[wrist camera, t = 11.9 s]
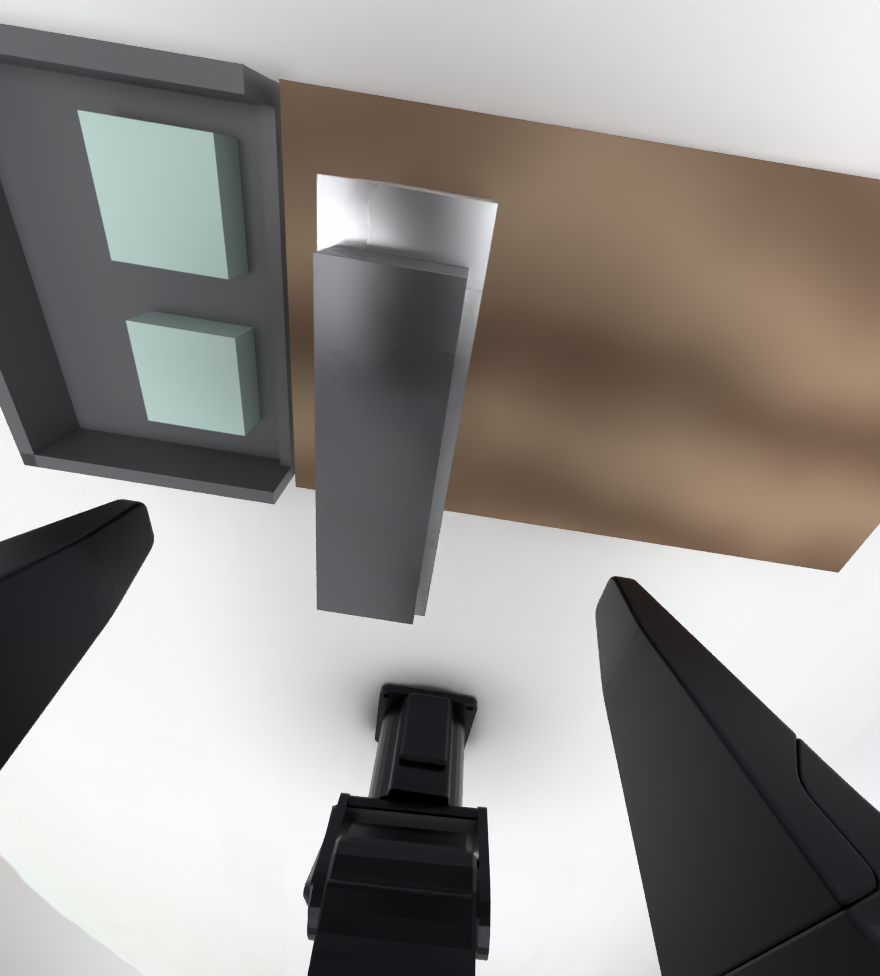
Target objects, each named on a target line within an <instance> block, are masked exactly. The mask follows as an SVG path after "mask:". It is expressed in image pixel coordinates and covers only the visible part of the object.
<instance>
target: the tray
mask: <svg viewBox="0 0 880 976" xmlns="http://www.w3.org/2000/svg"><path fill="white" fill-rule="evenodd" d="M77 110H81V111H87V112H93V113H98V114H104V115H110V116H116V117H122V118H128V119H134V120H140V121H146V122H152V123H158V124H164V125H170V126H176V127H182V128H188V129H194V130H200V131H205V132H211V133H216V134H221V135H225V136H230V137H234V138H238V150H239V163H240V175H241V187H242V199H243V212H244V224H245V236H246V249H247V261H248V273H246V274H243V275H240V276H237V277H234V278H231V279H223V278H217V277H211V276H205V275H199V274H192V273H186V272H180V271H174V270H168V269H162V268H156V267H150V266H144V265H138V264H132V263H126V262H120V261H113V260H111V256H110V251H109V247H108V243H107V238H106V234H105V229H104V225H103V221H102V216H101V212H100V208H99V203H98V199H97V194H96V190H95V186H94V181H93V177H92V173H91V168H90V164H89V159H88V155H87V151H86V146H85V142H84V137H83V133H82V129H81V124H80V120H79V116H78V111H77ZM151 311H156V312H162V313H168V314H174V315H180V316H186V317H192V318H198V319H204V320H210V321H216V322H222V323H229V324H235V325H241V326H247V327H253V330H254V342H255V355H256V367H257V380H258V392H259V405H260V417H261V420H260V421H259V422H258V423H257V424H256V425H255V426H254V427H253V428H252V429H251V430H250V431H249V432H248V433H247V434H246V435H245V436H242V435H236V434H230V433H223V432H217V431H211V430H205V429H199V428H193V427H186V426H180V425H174V424H168V423H162V422H155V421H149V420H148V417H147V412H146V408H145V404H144V399H143V395H142V390H141V386H140V381H139V377H138V373H137V368H136V364H135V359H134V355H133V351H132V346H131V342H130V337H129V333H128V329H127V324H126V320H128V319H131V318H134V317H137V316H139V315H142V314H145V313H148V312H151ZM0 407H1V409H2V411H3V414H4V416H5V419H6V421H7V423H8V426H9V428H10V431H11V433H12V435H13V438H14V440H15V443H16V445H17V447H18V450H19V452H20V455H21V457H22V460H23V462H24V464H25V465H29V466H35V467H42V468H48V469H54V470H61V471H67V472H73V473H80V474H86V475H92V476H99V477H105V478H111V479H118V480H124V481H130V482H137V483H143V484H149V485H156V486H162V487H168V488H175V489H181V490H187V491H194V492H200V493H206V494H213V495H219V496H225V497H232V498H238V499H244V500H251V501H257V502H264V503H270V504H275V503H276V501H277V500H278V498H279V497H280V495H281V494H282V492H283V491H284V489H285V488H286V486H287V485H288V483H289V482H290V480H291V479H292V477H293V476H294V474H295V453H294V428H293V403H292V379H291V354H290V329H289V304H288V280H287V255H286V230H285V205H284V181H283V156H282V131H281V107H280V84H278V83H276V82H274V81H272V80H271V79H269V78H267V77H265V76H263V75H261V74H259V73H258V72H256V71H254V70H252V69H250V68H248V67H246V66H245V65H243V64H237V63H231V62H225V61H219V60H213V59H208V58H202V57H196V56H190V55H184V54H178V53H172V52H166V51H160V50H154V49H148V48H142V47H136V46H130V45H124V44H118V43H112V42H106V41H100V40H94V39H88V38H83V37H77V36H71V35H65V34H59V33H53V32H47V31H41V30H35V29H29V28H23V27H17V26H11V25H5V24H0Z"/></svg>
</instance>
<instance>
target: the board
mask: <svg viewBox="0 0 880 976" xmlns="http://www.w3.org/2000/svg"><path fill="white" fill-rule="evenodd" d="M279 82H280V107H281V131H282V156H283V181H284V205H285V230H286V255H287V280H288V304H289V329H290V354H291V379H292V403H293V428H294V453H295V477H296V487H301V488H307V489H314V490H316V478H315V386H314V294H313V252H316V251H317V174H323V175H331V176H340V177H348V178H357V179H365V180H374V181H382V182H391V183H398V184H404V185H410V186H416V187H422V188H428V189H434V190H440V191H446V192H452V193H458V194H464V195H470V196H476V197H482V198H488V199H491V200H493V201H494V202H496V203H497V204H498V207H497V213H496V218H495V224H494V229H493V235H492V241H491V246H490V252H489V258H488V263H487V269H486V274H485V280H484V286H483V291H482V297H481V302H480V308H479V314H478V319H477V325H476V331H475V336H474V342H473V347H472V353H471V359H470V364H469V370H468V375H467V381H466V387H465V392H464V398H463V404H462V409H461V415H460V420H459V426H458V432H457V437H456V443H455V449H454V454H453V460H452V465H451V471H450V477H449V482H448V488H447V493H446V499H445V505H444V510H446V511H453V512H459V513H465V514H472V515H478V516H484V517H491V518H497V519H503V520H510V521H516V522H522V523H528V524H535V525H541V526H547V527H554V528H560V529H566V530H573V531H579V532H585V533H592V534H598V535H604V536H611V537H617V538H623V539H630V540H636V541H642V542H649V543H655V544H661V545H668V546H674V547H680V548H687V549H693V550H699V551H705V552H712V553H718V554H724V555H731V556H737V557H743V558H750V559H756V560H762V561H769V562H775V563H781V564H788V565H794V566H800V567H807V568H813V569H819V570H826V571H832V572H839V571H840V570H841V569H842V568H843V566H844V565H845V564H846V563H847V562H848V560H849V559H850V558H851V557H852V556H853V554H854V553H855V552H856V551H857V550H858V549H859V547H860V546H861V545H862V544H863V543H864V541H865V540H866V539H867V538H868V537H869V535H870V534H871V533H872V532H873V531H874V529H875V528H876V527H877V526H878V525H879V523H880V180H878V179H872V178H866V177H860V176H854V175H848V174H842V173H836V172H830V171H824V170H818V169H812V168H806V167H800V166H794V165H788V164H782V163H776V162H770V161H764V160H759V159H753V158H747V157H741V156H735V155H729V154H723V153H717V152H711V151H705V150H699V149H693V148H687V147H681V146H675V145H669V144H663V143H657V142H651V141H645V140H639V139H633V138H627V137H621V136H615V135H610V134H604V133H598V132H592V131H586V130H580V129H574V128H568V127H562V126H556V125H550V124H544V123H538V122H532V121H526V120H520V119H514V118H508V117H502V116H496V115H490V114H484V113H478V112H472V111H466V110H461V109H455V108H449V107H443V106H437V105H431V104H425V103H419V102H413V101H407V100H401V99H395V98H389V97H383V96H377V95H371V94H365V93H359V92H353V91H347V90H341V89H335V88H329V87H323V86H318V85H312V84H306V83H300V82H294V81H288V80H282V79H279Z"/></svg>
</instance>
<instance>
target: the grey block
mask: <svg viewBox="0 0 880 976" xmlns="http://www.w3.org/2000/svg"><path fill="white" fill-rule="evenodd" d="M497 207H498V204H497V203H496V202H494V201H493V200H491V199H488V198H482V197H476V196H470V195H464V194H458V193H452V192H446V191H440V190H434V189H428V188H422V187H416V186H410V185H404V184H398V183H391V182H382V181H374V180H365V179H357V178H348V177H340V176H331V175H323V174H317V251H316V252H313V294H314V386H315V478H316V570H317V610H323V611H330V612H336V613H343V614H349V615H355V616H362V617H368V618H375V619H381V620H387V621H394V622H400V623H407V624H413V618H414V615H420V616H425V611H426V606H427V600H428V595H429V589H430V583H431V578H432V572H433V567H434V561H435V555H436V550H437V544H438V538H439V533H440V527H441V522H442V516H443V510H444V505H445V499H446V493H447V488H448V482H449V477H450V471H451V465H452V460H453V454H454V449H455V443H456V437H457V432H458V426H459V420H460V415H461V409H462V404H463V398H464V392H465V387H466V381H467V375H468V370H469V364H470V359H471V353H472V347H473V342H474V336H475V331H476V325H477V319H478V314H479V308H480V302H481V297H482V291H483V286H484V280H485V274H486V269H487V263H488V258H489V252H490V246H491V241H492V235H493V229H494V224H495V218H496V213H497Z"/></svg>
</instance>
